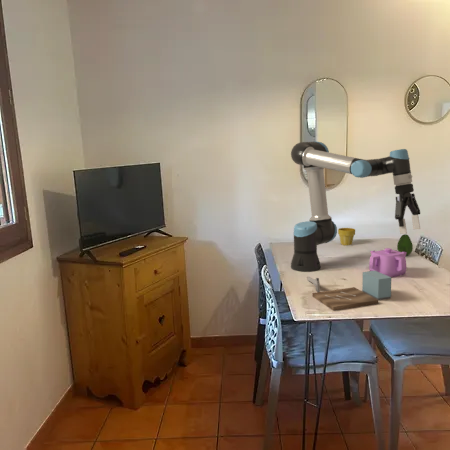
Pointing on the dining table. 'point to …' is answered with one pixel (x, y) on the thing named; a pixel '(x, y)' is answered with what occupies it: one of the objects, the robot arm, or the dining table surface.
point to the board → (344, 298)
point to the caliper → (315, 283)
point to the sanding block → (376, 285)
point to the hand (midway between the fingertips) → (410, 231)
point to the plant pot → (346, 235)
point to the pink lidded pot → (388, 262)
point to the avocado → (405, 244)
